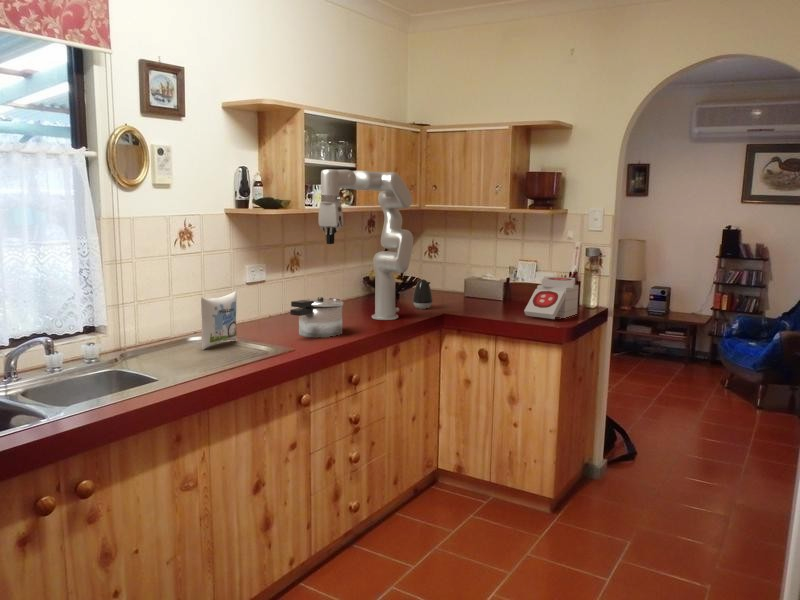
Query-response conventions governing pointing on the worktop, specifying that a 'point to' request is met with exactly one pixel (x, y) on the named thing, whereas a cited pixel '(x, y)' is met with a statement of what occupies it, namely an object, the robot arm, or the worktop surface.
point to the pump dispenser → (422, 295)
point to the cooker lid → (317, 302)
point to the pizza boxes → (554, 298)
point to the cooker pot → (319, 321)
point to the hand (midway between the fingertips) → (330, 243)
